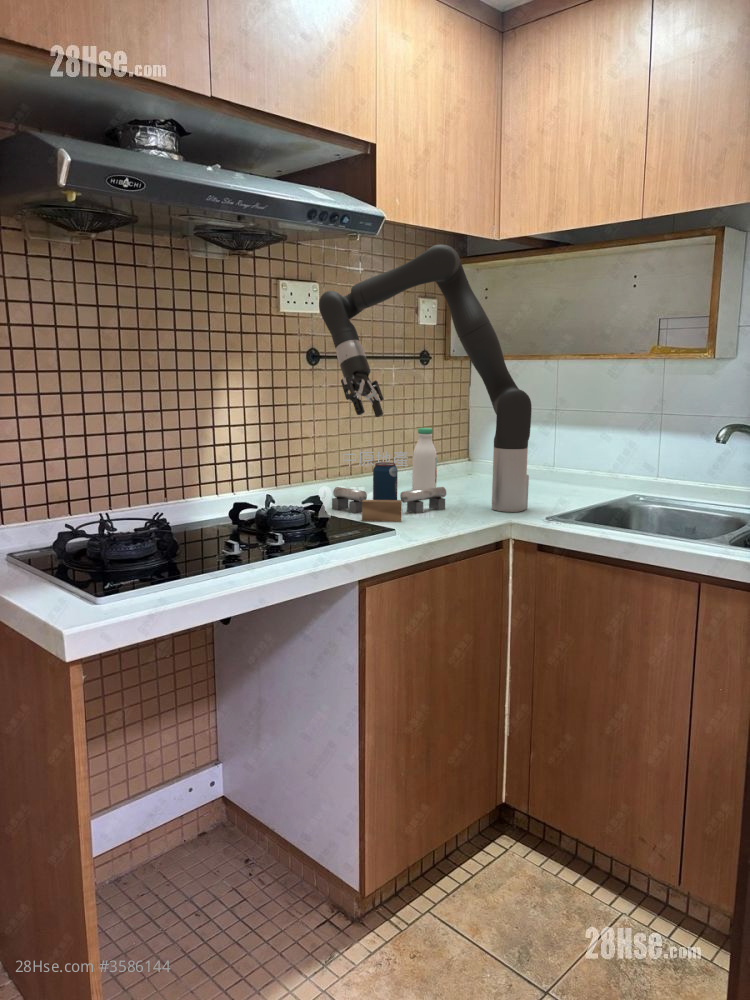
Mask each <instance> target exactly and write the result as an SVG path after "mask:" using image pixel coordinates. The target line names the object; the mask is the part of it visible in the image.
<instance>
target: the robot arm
mask: <svg viewBox="0 0 750 1000" xmlns="http://www.w3.org/2000/svg"><path fill="white" fill-rule="evenodd" d="M434 282H435V283H436V285H437V287H438V288H439V290H440V291H441V293H442V294H443V297H444V299H445V301H446V303H447V305H448V308H449V309H448V310H449V313H450V316H451V319H452V323H453V327H454V329H455V333H456V335H457V337H458V339H459V341H460V343H461V345H462V347H463V350H464V351H465V353H466V355H467V357H468V358H469V360H470V362H471V363H472V365H473V367H474V368H475V370H476V372H477V373H478V374H479V376H480V378H481V380H482V382H483V384H484V386H485V388H486V391H487V393H488V396H489V399H490V402H491V404H492V408H493V411H494V413H495V415H496V420H495V421H496V423H495V424H496V425H495V433H494V436H493V437H494V438H493V454H492V455H493V456H492V457H493V458H492V459H493V460H492V482H491V483H492V484H491V485H492V486H491V510H494V511H497V512H507V513H516V512H517V513H518V512H523V510H524V511H525V510H527V508H529V505H528V504H529V485H530V484H529V483H530V481H529V480H530V475H529V474H528V472H527V471H528V452H529V451H528V449H529V441H530V437H531V426H532V401H531V398H530V396H529V395H528V393H527V392H526V391H524V390H523V389H519V387H518V386H517V384H516V382H515V381H514V379H513V377H512V375H511V374H510V372H509V370H508V368H507V364H506V362H505V358H504V354H503V350H502V347H501V343H500V340H499V338H498V335H497V333H496V331H495V329H494V327H493V325H492V323H491V320H490V319H489V317H488V315H487V313H486V312H485V309H484V308H483V306H482V305H481V302H480V301H479V300H478V298H477V296H476V295H475V293H474V292H473V289H472V287H471V285H470V283H469V280H468V278H467V274H466V273H465V270H464V266H463V264H462V261H461V258H460V256H459V253H458V252H457V251H456V250H455V248H453V247H452V246H450V245H447V244H441V243H440V244H435V245H432V246H431V247H429V248H428V249H426V251H423V252H422V253H421V254H418V255H417V256H416V257H415V258H413V259H411V260H409V261H408V262H406V263H403V264H402V265H400V266H398V267H396V268H393V269H390V270H388V271H385V272H383V273H380V274H377V275H374V276H372V277H370V278H367V279H365V280H363V281H360V282H358V283H356V284H354V285H352V287H351V289H350V292H349V294H348V293H347V294H346V295H344V296H343V295H342V294H340V293H339V292H337V291H334V290H328V291H325V292H323V293H322V294H321V296H320V298H319V301H318V310H319V312H320V316H321V317H322V319H323V322H324V324H325V326H326V328H327V329H328V331H329V333H330V335H331V338H332V342H333V345H334V349H335V352H336V356H337V361H338V364H339V367H340V370H341V373H342V376H343V378H342V379H340V383H341V386H342V390H343V394H344V397H345V399H346V400H347V401H350V403H352V404H353V407H354V410H355V413H356V415H357V416H361V415H363V414H364V413H365V409H364V405H363V402H362V399H361V397H364V398H365V400H368V401H369V402H370V403H371V407H372V410H373V413H374V417H377V418H380V417H381V416H383V414H384V412H383V409H382V405H381V402H383V401H384V397H383V393H382V391H381V388H380V384H379V382H378V381H377V380H374V381H371V379H370V377H369V376H370V374H371V367H370V365H369V361H368V358H367V356H366V353H365V349H364V347H363V345H362V343H361V340H360V338H359V334H358V331H357V329H356V327H355V325H354V324H353V322H352V321H351V319H352V318H354V317H356V316H357V315H358V314H360V313H361V312H363V311H364V310H365V309H368V308H371V307H374V306H376V305H378V304H380V303H383V302H384V301H388V300H390V299H391V298H393V297H395V296H397V295H399V294H400V293H401V294H402V293H403V292H404V291H407V290H409V289H412V288H414V287H415V288H416V287H417V286H421V285H425V284H429V283H434ZM349 391H350V393H349Z"/></svg>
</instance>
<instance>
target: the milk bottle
mask: <svg viewBox="0 0 750 1000" xmlns="http://www.w3.org/2000/svg"><path fill="white" fill-rule="evenodd" d="M417 436H418V437H417V438H418V439H417V443H416V444H415V446H414V449H413V453H412V473H411V474H412V479H411V480H412V481H411V483H412V485H411V486H412V488H411V490H420V489H428V488H436V487H437V480H438V479H437V474H438V473H437V469H438V466H437V465H438V464H437V462H438V458H437V455H438V454H437V450H436V447H435V445H434V442H433V438H432V436H433V428H432V427H419V428H417Z"/></svg>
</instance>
